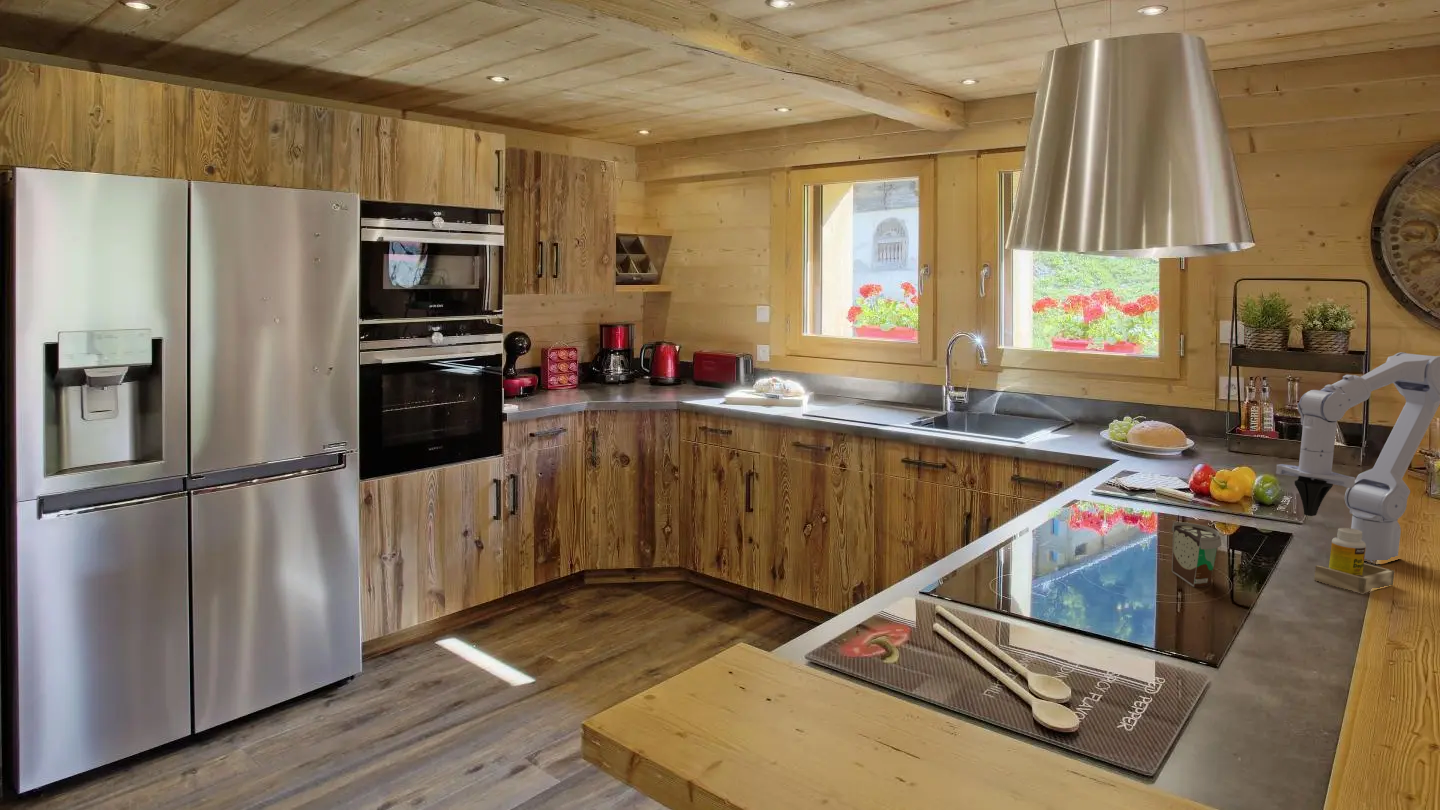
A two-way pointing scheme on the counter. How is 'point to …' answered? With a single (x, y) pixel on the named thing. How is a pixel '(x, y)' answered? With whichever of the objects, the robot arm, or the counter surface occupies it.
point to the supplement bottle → (1348, 551)
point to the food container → (1194, 552)
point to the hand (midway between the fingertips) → (1310, 514)
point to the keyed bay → (1356, 578)
